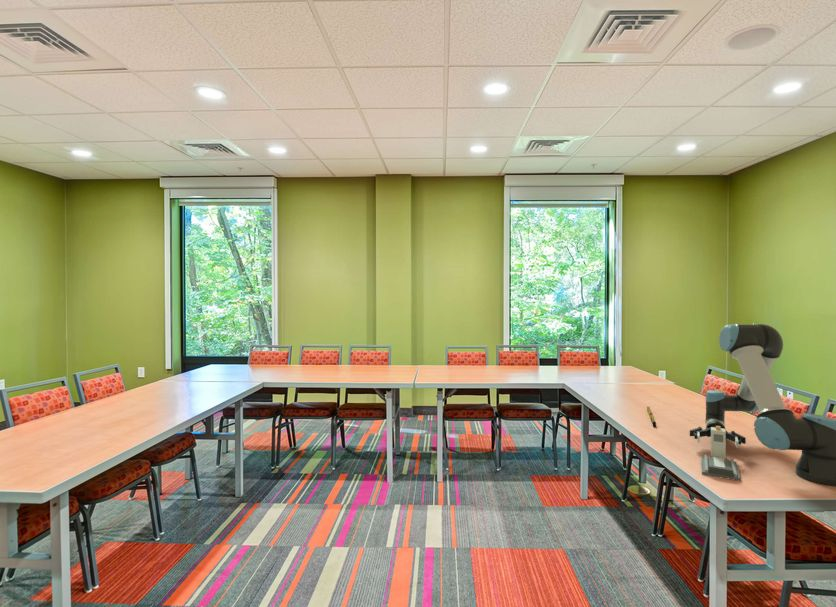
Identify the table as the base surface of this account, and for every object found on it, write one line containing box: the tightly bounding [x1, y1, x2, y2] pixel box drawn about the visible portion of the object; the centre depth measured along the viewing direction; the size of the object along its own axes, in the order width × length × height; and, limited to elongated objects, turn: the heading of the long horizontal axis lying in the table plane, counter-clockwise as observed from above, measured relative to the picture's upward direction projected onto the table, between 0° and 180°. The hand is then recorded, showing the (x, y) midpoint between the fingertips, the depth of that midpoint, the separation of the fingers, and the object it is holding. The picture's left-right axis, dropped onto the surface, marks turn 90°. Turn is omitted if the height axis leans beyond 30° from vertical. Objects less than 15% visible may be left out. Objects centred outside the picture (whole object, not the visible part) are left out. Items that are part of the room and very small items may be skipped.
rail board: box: [700, 454, 741, 481], centre depth 173 cm, size 12×19×3 cm, turn 148°
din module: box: [710, 426, 727, 460], centre depth 185 cm, size 5×5×13 cm
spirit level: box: [646, 406, 657, 428], centre depth 244 cm, size 33×1×3 cm, turn 157°
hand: (717, 441), depth 184 cm, fingers open, 13 cm apart
